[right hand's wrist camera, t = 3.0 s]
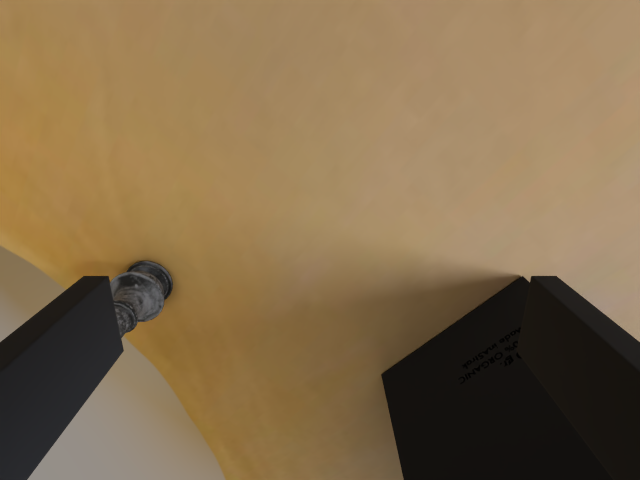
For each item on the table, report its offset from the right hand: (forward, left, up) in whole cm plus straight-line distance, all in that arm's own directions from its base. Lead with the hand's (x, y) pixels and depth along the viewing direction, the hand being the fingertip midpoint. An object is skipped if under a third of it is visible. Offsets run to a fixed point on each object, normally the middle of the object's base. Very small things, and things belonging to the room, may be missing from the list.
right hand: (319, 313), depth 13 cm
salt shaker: (+14, -19, -30) cm, 38 cm away
